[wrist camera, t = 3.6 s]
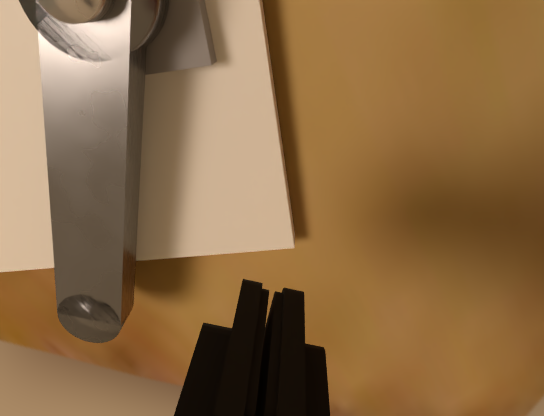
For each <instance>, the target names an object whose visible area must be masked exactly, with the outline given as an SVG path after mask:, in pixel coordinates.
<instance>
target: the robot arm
mask: <svg viewBox="0 0 544 416" xmlns="http://www.w3.org/2000/svg"><path fill="white" fill-rule="evenodd" d="M268 297H269V290H266V289H262V283H259V282H254V281H250V280H245V279H243V281H242V286H241V290H240V295H239V300H238V304H237V309H236V313H235V318H234V323H233V327H232V328H227V327H222V326H217V325H212V324H207V323H203V325H202V328H201V331H200V334H199V338H198V341H197V344H196V347H195V350H194V353H193V357H192V360H191V363H190V366H189V369H188V373H187V376H186V379H185V382H184V385H183V388H182V392H181V395H180V398H179V401H178V404H177V407H176V411H175V414H174V416H330V408H329V394H328V381H327V367H326V354H325V349H324V347H319V346H315V345H310V344H305V312H304V292H302V291H297V290H293V289H288V288H283V291H282V293H280V292H276V291H275V293H274V297H273V300H272V304H271V308H270V312H269V315H268V319H267V323H266V315H267V306H268ZM265 324H266V327H265Z"/></svg>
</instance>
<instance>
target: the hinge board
mask: <svg viewBox="0 0 544 416" xmlns="http://www.w3.org/2000/svg"><path fill="white" fill-rule="evenodd" d="M294 247H295V232H294V224H293V217H292V210H291V203H290V196H289V188H288V181H287V174H286V167H285V160H284V152H283V145H282V138H281V131H280V124H279V117H278V109H277V102H276V95H275V88H274V81H273V73H272V66H271V59H270V52H269V45H268V37H267V30H266V23H265V16H264V9H263V2H262V0H169V9H168V14H167V18H166V21H165V23H164V26H163V28H162V30H161V31H160V33H159V35H158V36H157V37H156V38H155V40H154V41H153V42H152V43H151V44H149V45H148V46H147V52H146V71H145V91H144V110H143V129H142V149H141V168H140V188H139V207H138V227H137V246H136V261H142V260H154V259H167V258H179V257H191V256H203V255H216V254H228V253H240V252H252V251H264V250H277V249H289V248H294ZM44 268H54V256H53V241H52V227H51V213H50V199H49V184H48V170H47V156H46V141H45V127H44V113H43V99H42V84H41V70H40V56H39V41H38V31H37V30H36V28H35V27H34V26H33V24H32V23H31V22H30V20H29V19H28V17H27V16H26V14H25V12H24V10H23V8H22V6H21V4H20V2H19V0H0V272H7V271H20V270H32V269H44Z"/></svg>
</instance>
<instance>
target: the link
mask: <svg viewBox="0 0 544 416" xmlns="http://www.w3.org/2000/svg"><path fill="white" fill-rule="evenodd" d="M19 2H20V4H21V6H22V8H23V10H24V12H25V14H26V16H27V17H28V19H29V20H30V22H31V23H32V24H33V26H34V27H35V28H36V30H37V31H38V41H39V56H40V70H41V84H42V99H43V113H44V127H45V141H46V156H47V170H48V184H49V199H50V213H51V227H52V241H53V256H54V270H55V284H56V299H57V313H58V318H59V320H60V322H61V324H62V325H63V327H64V328H65V329H66V330H67V331H68V332H69V333H71V334H72V335H74V336H75V337H77V338H79V339H82V340H84V341H88V342H93V343H102V342H107V341H110V340H112V339H114V338H115V337H116V336H117V335H118V333H119V332H120V330H121V328H122V326H123V324H124V323H125V321H126V319H127V317H128V315H129V314H130V312H131V310H132V308H133V304H134V285H135V266H136V246H137V227H138V207H139V188H140V168H141V149H142V129H143V110H144V91H145V71H146V52H147V46H148V45H149V44H151V43H152V42H153V41H154V40H155V38H156V37H157V36H158V35H159V33H160V31H161V30H162V28H163V26H164V23H165V21H166V18H167V14H168V9H169V0H19Z"/></svg>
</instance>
